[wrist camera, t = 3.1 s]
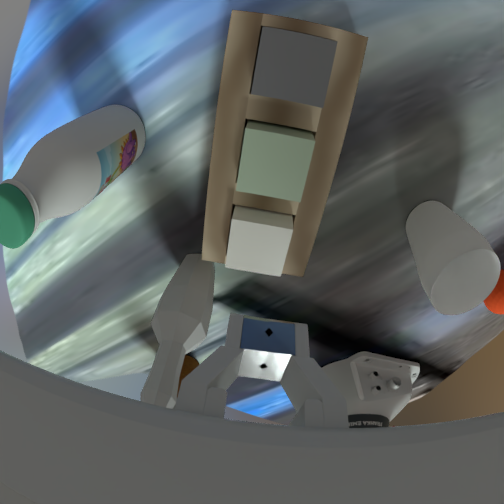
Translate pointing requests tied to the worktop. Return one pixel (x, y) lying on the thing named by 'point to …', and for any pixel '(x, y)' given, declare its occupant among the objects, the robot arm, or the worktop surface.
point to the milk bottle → (68, 170)
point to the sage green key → (275, 160)
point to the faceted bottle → (179, 327)
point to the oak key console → (284, 113)
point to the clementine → (496, 296)
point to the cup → (451, 258)
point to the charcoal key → (293, 66)
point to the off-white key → (259, 240)
